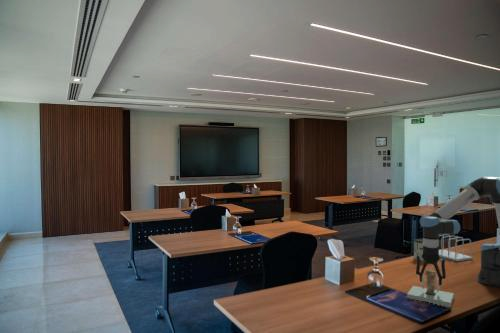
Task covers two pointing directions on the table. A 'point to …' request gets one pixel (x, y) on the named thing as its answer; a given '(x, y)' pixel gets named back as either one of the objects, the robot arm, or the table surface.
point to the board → (438, 298)
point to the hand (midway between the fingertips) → (430, 289)
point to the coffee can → (418, 248)
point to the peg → (430, 281)
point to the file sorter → (453, 255)
